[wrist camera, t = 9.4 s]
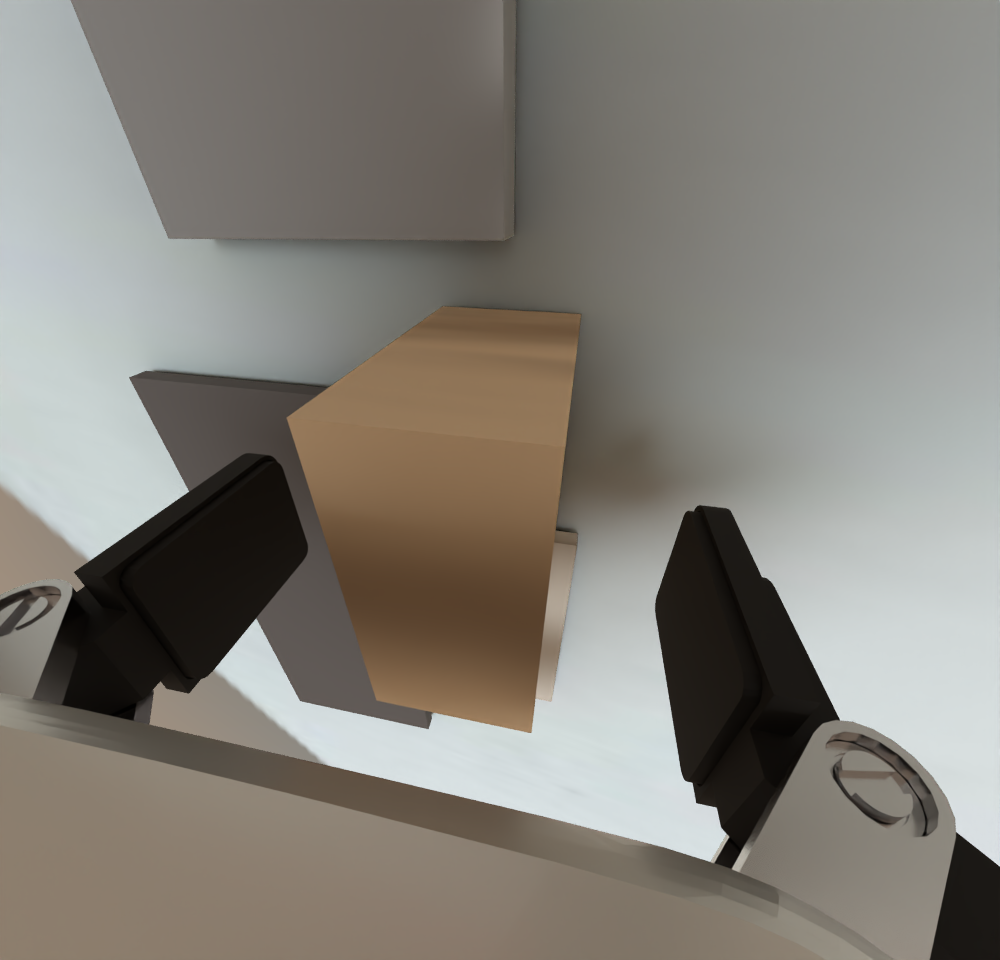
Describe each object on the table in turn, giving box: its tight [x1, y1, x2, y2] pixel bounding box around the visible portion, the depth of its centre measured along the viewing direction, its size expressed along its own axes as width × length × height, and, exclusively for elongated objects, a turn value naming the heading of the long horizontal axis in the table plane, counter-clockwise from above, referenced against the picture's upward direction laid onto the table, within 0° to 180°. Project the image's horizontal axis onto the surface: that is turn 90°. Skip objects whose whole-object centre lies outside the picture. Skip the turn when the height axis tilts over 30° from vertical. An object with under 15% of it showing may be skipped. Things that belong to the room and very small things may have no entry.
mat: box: [129, 371, 432, 729], centre depth 18 cm, size 20×8×1 cm, turn 179°
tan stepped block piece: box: [287, 306, 581, 733], centre depth 12 cm, size 17×5×6 cm, turn 179°
